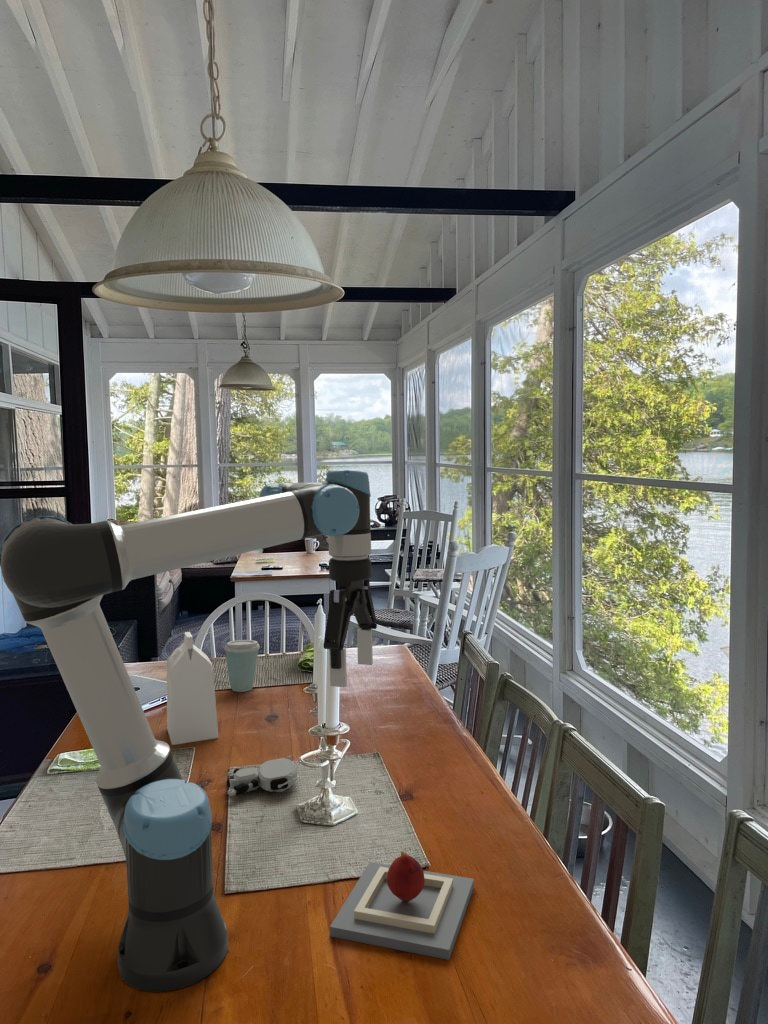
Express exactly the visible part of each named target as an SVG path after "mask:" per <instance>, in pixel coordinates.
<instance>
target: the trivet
mask: <svg viewBox="0 0 768 1024" xmlns="http://www.w3.org/2000/svg"><path fill="white" fill-rule="evenodd" d="M390 866H391V864H384V863H379V862H373V861H370V862H369V863H368V864H367V866H366V867H365V869H364V870H363V872H362V874H361V875H360V877H359V878H358V880H357V882H356V884H355V885H354V887H353V889H352V890H351V892H350V894H349V895H348V896H347V898H346V900H345V901H344V903H343V905H342V906H341V908H340V910H339V911H338V913H337V915H336V916H335V918H334V920H333V921H332V922H331V924H330V925H329V937H331V938H337V939H341V940H346V941H347V940H348V941H350V942H351V941H352V942H356V943H361V944H368V945H370V946H371V945H372V946H377V947H381V948H387V949H392V950H395V951H396V950H397V951H402V952H408V953H413V954H418V955H421V956H427V957H431V958H437V959H442V960H447V961H450V959H451V956H452V952H453V950H454V947H455V945H456V941H457V938H458V936H459V933H460V929H461V926H462V924H463V921H464V919H465V915H466V912H467V910H468V906H469V903H470V901H471V897H472V895H473V892H474V889H475V879H474V878H470V877H466V876H465V877H464V876H459V875H452V874H446V873H441V872H435V871H434V872H433V871H429V870H428V871H427V870H423V871H424V879H425V882H424V887H423V889H422V891H421V892H420V894H419V895H418V896H417V897H416V898H414V899H412V900H410V901H408V902H403V901H402V900H400V899H399V898H398V897H396V896H395V895H394V894H393V893H392V892H391V890H390V889H389V887H388V884H387V873H388V869H389V867H390Z"/></svg>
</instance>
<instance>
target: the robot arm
mask: <svg viewBox="0 0 768 1024" xmlns="http://www.w3.org/2000/svg"><path fill="white" fill-rule="evenodd" d="M326 472H327V473H326V478H325V480H324V481H319V482H317V481H315V482H279V483H271V484H266V485H264V486H263V487H262V489H261V490H260V492H259V497H257V498H252V499H246V500H241V501H236V502H232V503H226V504H221V505H216V506H211V507H206V508H201V509H197V510H191V511H186V512H182V513H177V514H171V515H166V516H162V517H156V518H150V519H146V520H141V521H137V522H132V523H125V524H121V525H117V524H116V523H114V522H112V521H111V520H101V521H97V522H91V523H90V522H89V523H78V524H77V523H75V524H73V523H71V522H69V521H68V520H66V519H63V518H61V517H59V516H53V515H52V516H50V515H49V516H48V515H39V516H36V517H33V518H27V519H26V520H24V521H22V522H20V523H18V524H17V525H15V526H14V527H13V528H11V529H10V530H9V532H8V533H7V534H6V535H5V536H4V537H3V540H2V542H1V545H0V569H1V575H2V579H3V582H4V584H5V585H6V588H7V589H8V590H9V591H10V593H11V594H12V595H13V597H14V600H15V601H16V605H17V607H18V608H19V611H20V614H21V615H22V618H23V620H24V622H25V623H26V624H29V625H32V626H35V627H37V628H40V629H41V633H42V634H43V637H44V639H45V641H46V643H47V646H48V648H49V651H50V653H51V655H52V657H53V660H54V662H55V664H56V667H57V669H58V671H59V673H60V676H61V678H62V680H63V683H64V685H65V687H66V691H68V693H69V697H70V698H71V701H72V704H73V705H74V708H75V710H76V713H77V715H78V717H79V719H80V722H81V724H82V726H83V728H84V731H85V732H86V735H87V738H88V739H89V740H88V741H89V742H90V744H91V747H92V749H93V751H94V753H95V756H96V758H97V760H98V763H99V765H100V768H99V770H98V772H97V774H96V776H95V783H96V786H97V789H98V790H99V792H100V795H101V797H102V799H103V801H104V802H103V803H105V806H106V808H107V811H108V814H109V817H110V818H111V821H112V823H113V825H114V827H115V830H116V833H117V836H118V839H119V842H120V845H121V848H122V850H123V854H124V857H125V864H126V865H125V866H126V877H127V878H126V879H127V899H128V900H127V901H128V912H127V915H126V918H125V922H124V926H123V928H122V929H123V930H122V934H121V936H120V940H119V943H118V947H117V970H118V973H119V975H120V978H121V979H122V981H123V982H125V984H127V985H129V986H130V987H132V988H135V989H137V990H140V991H144V992H169V991H174V990H177V989H178V990H179V989H182V988H185V987H188V986H191V985H192V984H195V983H197V982H200V981H201V980H203V979H204V978H206V977H208V976H209V975H210V974H211V973H213V972H214V971H215V970H217V968H218V967H219V966H220V965H221V964H222V962H223V960H224V959H225V957H226V955H227V952H228V948H229V942H228V941H229V939H228V938H229V936H228V927H227V923H226V922H225V919H224V918H223V916H222V913H221V910H220V908H219V904H218V902H217V900H216V897H215V894H214V870H213V867H214V865H213V844H212V843H213V841H212V824H213V813H212V808H211V805H210V800H209V797H208V795H207V793H206V790H204V789H203V788H202V787H201V786H200V785H198V784H197V783H194V782H192V781H190V782H189V781H188V782H187V781H186V779H185V780H184V778H183V776H182V774H181V771H180V769H179V767H178V763H177V762H176V760H175V757H174V754H173V753H172V749H171V747H170V745H169V743H167V742H166V741H162V740H158V739H156V738H155V735H154V733H153V731H152V728H151V726H150V723H149V721H148V718H147V717H146V714H145V711H144V709H143V706H142V704H141V702H140V699H139V697H138V694H137V692H136V690H135V686H134V685H133V682H132V680H131V677H130V675H129V673H128V671H127V668H126V666H125V663H124V661H123V658H122V656H121V654H120V651H119V649H118V646H117V643H116V642H115V639H114V637H113V634H112V632H111V630H110V626H109V624H108V622H107V619H106V617H105V615H104V612H103V610H102V608H101V605H100V603H101V600H102V599H103V598H104V597H103V596H104V595H107V594H111V593H116V592H119V591H123V590H125V589H126V587H127V586H128V584H129V582H131V581H132V580H136V579H141V578H145V577H149V576H153V575H159V574H162V573H166V572H170V571H174V570H178V569H179V570H180V569H183V568H187V567H191V566H195V565H199V564H200V565H201V564H204V563H208V562H211V561H216V560H221V559H225V558H228V557H233V556H237V555H241V554H246V553H249V552H250V553H251V552H254V551H258V550H262V549H267V548H270V547H275V546H278V545H283V544H286V543H291V542H292V543H293V542H296V541H299V540H300V541H301V540H305V539H310V538H315V537H319V536H322V535H325V536H327V538H326V543H327V544H328V555H329V556H330V558H329V560H328V577H329V579H330V580H332V581H335V582H336V583H337V589H330V591H329V605H328V611H327V619H326V625H325V632H324V638H323V646H322V647H323V650H329V682H330V684H329V685H330V687H338V688H347V686H348V681H347V680H348V678H347V675H348V674H347V648H344V647H345V643H346V637H347V634H348V630H349V627H350V626H349V625H350V622H351V617H352V616H353V615H354V618H355V620H356V622H357V625H358V628H359V629H356V636H357V637H356V638H357V639H356V641H357V643H356V645H357V664H358V665H364V666H373V664H374V663H373V661H374V660H373V630H376V629H377V627H378V624H377V618H376V613H375V607H374V603H373V598H372V597H373V596H372V591H371V585H370V581H371V580H370V579H371V577H372V559H371V558H370V557H369V556H370V555H371V554H372V535H371V533H372V532H371V495H372V494H371V488H370V479H369V474H368V472H367V471H366V470H364V469H333V470H332V469H329V470H328V471H326Z"/></svg>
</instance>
